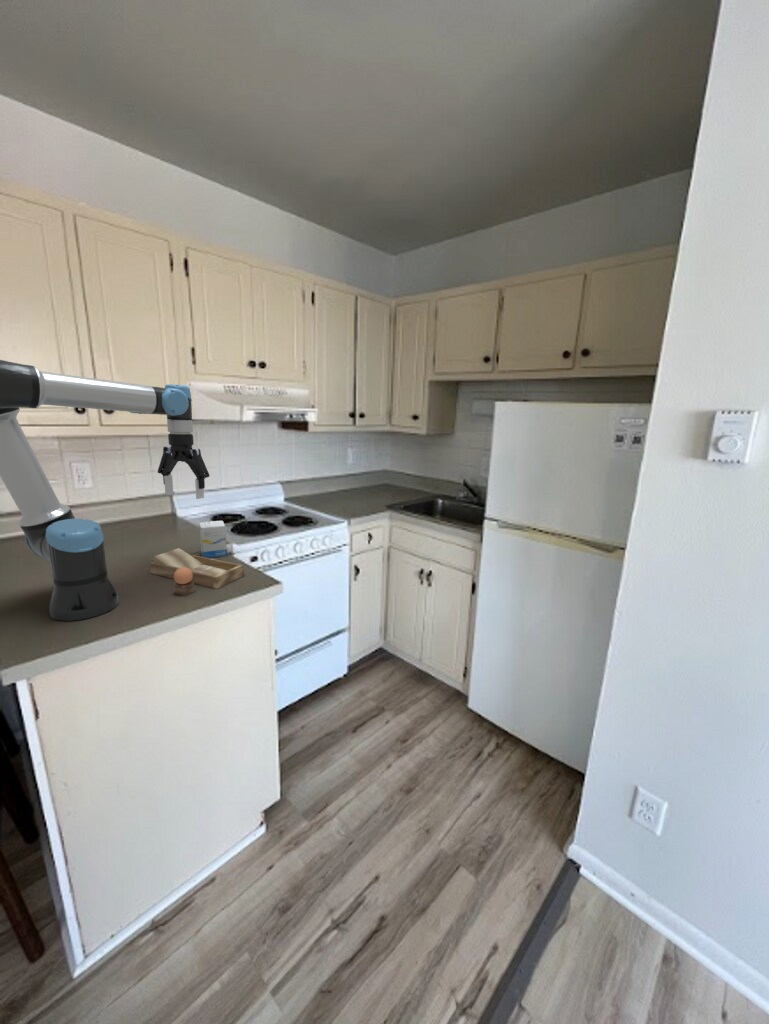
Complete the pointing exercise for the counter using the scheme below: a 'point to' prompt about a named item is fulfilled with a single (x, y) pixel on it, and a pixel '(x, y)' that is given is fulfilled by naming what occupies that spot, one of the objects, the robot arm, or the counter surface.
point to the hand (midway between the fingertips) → (184, 496)
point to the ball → (183, 575)
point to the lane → (197, 568)
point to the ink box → (213, 539)
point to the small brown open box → (184, 588)
